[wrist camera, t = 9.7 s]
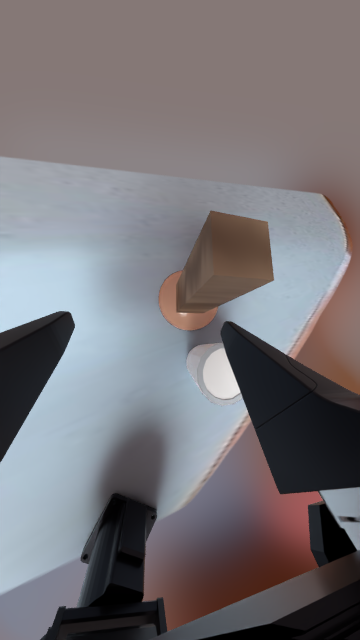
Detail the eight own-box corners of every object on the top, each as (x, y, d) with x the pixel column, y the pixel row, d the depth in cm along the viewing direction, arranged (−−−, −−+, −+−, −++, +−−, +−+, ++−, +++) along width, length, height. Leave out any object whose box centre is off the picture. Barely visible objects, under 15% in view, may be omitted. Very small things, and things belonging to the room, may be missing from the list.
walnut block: (203, 313, 22) (273, 280, 9) (176, 312, 21) (213, 274, 8) (202, 286, 22) (267, 221, 10) (176, 285, 21) (210, 210, 9)
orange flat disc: (200, 341, 22) (201, 341, 21) (146, 310, 21) (146, 309, 20) (225, 292, 24) (227, 291, 23) (177, 261, 23) (178, 258, 22)
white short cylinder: (226, 377, 22) (259, 394, 15) (187, 390, 21) (205, 416, 14) (216, 336, 23) (244, 336, 16) (178, 346, 21) (190, 350, 14)
